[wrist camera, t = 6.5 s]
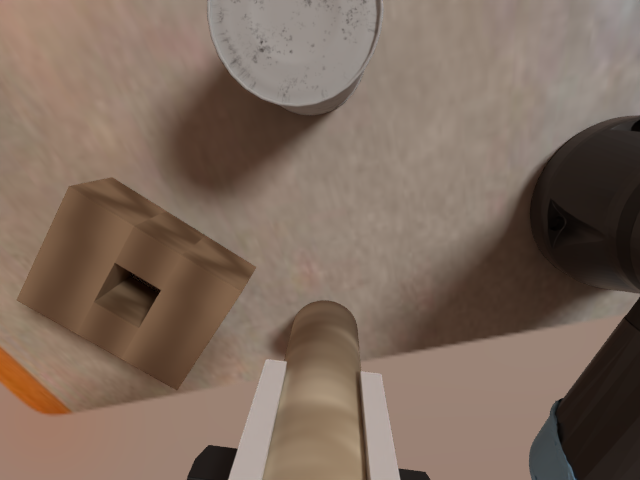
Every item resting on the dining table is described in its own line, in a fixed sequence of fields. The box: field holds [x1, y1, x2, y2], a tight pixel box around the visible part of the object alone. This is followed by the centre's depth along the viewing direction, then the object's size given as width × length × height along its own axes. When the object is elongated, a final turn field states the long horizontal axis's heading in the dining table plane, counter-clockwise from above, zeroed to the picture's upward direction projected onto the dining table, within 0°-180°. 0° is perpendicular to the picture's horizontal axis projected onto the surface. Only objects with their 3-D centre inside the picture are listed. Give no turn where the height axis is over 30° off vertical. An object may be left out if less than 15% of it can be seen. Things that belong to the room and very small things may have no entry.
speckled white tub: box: [207, 0, 383, 115], centre depth 26 cm, size 10×10×12 cm
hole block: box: [17, 178, 256, 390], centre depth 35 cm, size 16×12×6 cm
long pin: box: [262, 301, 367, 480], centre depth 12 cm, size 3×3×14 cm
